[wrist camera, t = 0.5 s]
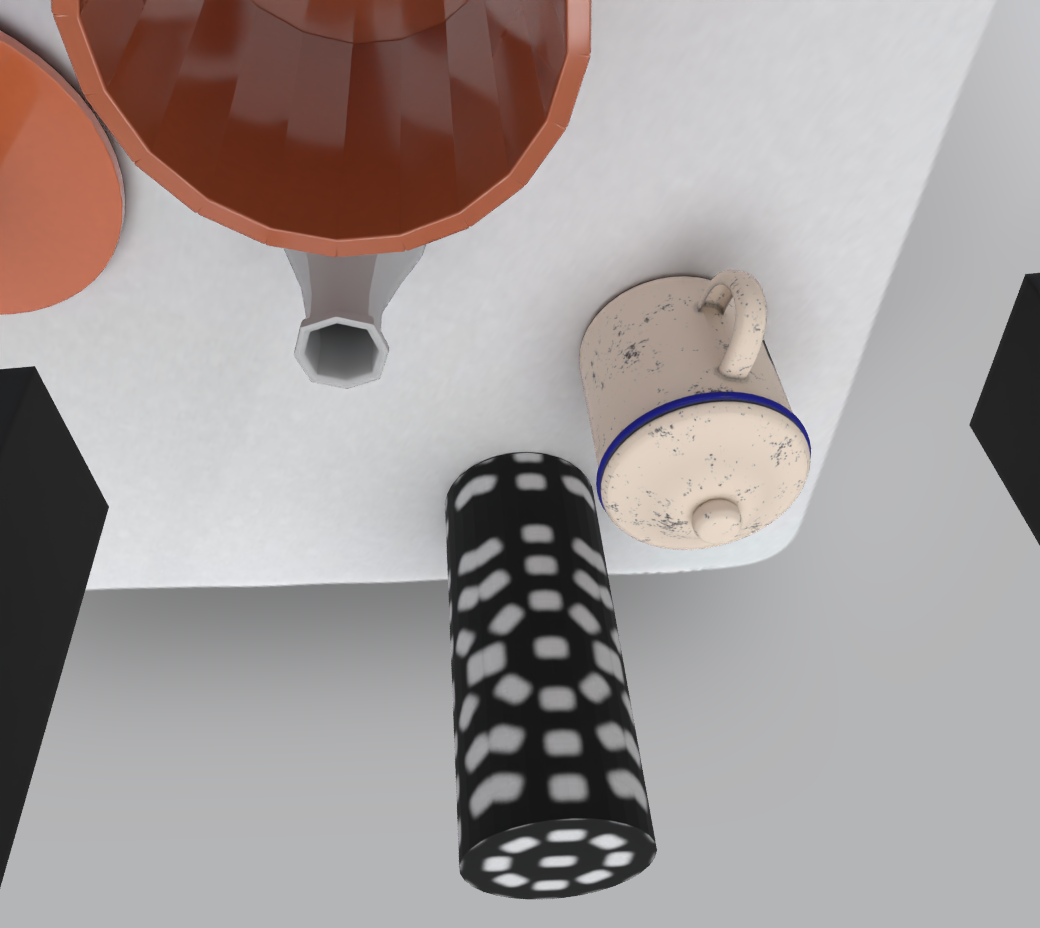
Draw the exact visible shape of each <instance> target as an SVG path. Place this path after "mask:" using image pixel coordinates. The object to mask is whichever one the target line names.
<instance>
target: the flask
mask: <svg viewBox="0 0 1040 928" xmlns="http://www.w3.org/2000/svg"><path fill="white" fill-rule="evenodd" d="M425 245H426V244H425ZM425 245H422V246H419V247H417V248H414V249H411V250H409V251H406V250H405V251H404V252H394V253H383V254H371V255H359V256H347V257H337V256H336V257H330V256H325V255H319V254H313V253H308V252H302V251H297V250H291V249H285V248H284V250H285V252H286V254H287V257H288V259H289V261H290V264H291V266H292V268H293V271H294V273H295V275H296V278H297V280H298V282H299V284H300V287H301V290H302V296H303V301H304V307H305V313H306V319H304V320H303V321H302V323H301V326H300V330H299V335H298V339H297V343H296V347H295V352H294V356H295V358H296V359H297V361H298V362H299V364H300V365H301V367H302V369H303V370H304V372H305V373H306V375H307V376H308V378H309V379H310V381H311V382H314V383H320V384H325V385H330V386H335V387H340V388H345V389H348V388H351V387H355V386H358V385H361V384H365V383H368V382H371V381H374V380H378V379H380V377H381V374H382V371H383V368H384V365H385V362H386V359H387V355H388V352H389V346H388V343H387V342H386V340H385V338H384V336H383V334H382V332H381V317H382V312H383V311H384V309H385V308H386V306H387V305H388V303H389V302H390V300H391V298H392V297H393V295H394V294H395V292H396V291H397V289H398V288H399V286H400V285H401V283H402V282H403V281H404V279H405V278H406V277H407V275H408V274H409V273H410V272H411V270H412V269H413V268H414V266H415V265H416V264H417V262H418V261H419V259H420V258H421V256H422V255H423V252H424V249H425Z"/></svg>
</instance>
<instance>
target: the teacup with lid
mask: <svg viewBox="0 0 1040 928" xmlns="http://www.w3.org/2000/svg"><path fill="white" fill-rule="evenodd" d="M766 320H767V306H766V300H765V296H764V293H763V290H762V288H761V286H760V284H759V283H758V281H757V280H756V279H755V278H754V277H753V276H751V275H750V274H748V273H745V272H741V271H734V270H727V271H723V272H720V273H719V274H717V275H716V276H715V277H714V278H713V279H712V280H708V279H704V278H699V277H688V276H679V277H668V278H661V279H657V280H653V281H650V282H646V283H643V284H641V285H638V286H636V287H634V288H632V289H630V290H628V291H626V292H624V293H623V294H621V295H619V296H618V297H616V298H615V299H614V300H612V301H611V302H610V303H609V304H607V305H606V306H605V307H604V308H603V309H602V310H601V311H600V312H599V313H598V314H597V316H596V317H595V318H594V319H593V321H592V322H591V324H590V325H589V327H588V329H587V331H586V333H585V336H584V338H583V341H582V344H581V348H580V361H579V363H580V371H581V376H582V382H583V387H584V392H585V398H586V403H587V408H588V414H589V419H590V425H591V430H592V435H593V441H594V446H595V451H596V457H597V462H598V467H599V468H598V472H597V481H596V485H597V493H598V497H599V500H600V502H601V505H602V507H603V508H604V510H605V512H606V513H607V514H608V515H609V517H610V518H611V520H612V521H613V522H614V523H615V524H616V525H617V526H618V527H619V528H620V529H621V530H623V531H624V532H625V533H627V534H628V535H630V536H631V537H633V538H635V539H637V540H639V541H641V542H644V543H647V544H650V545H653V546H657V547H662V548H668V549H681V550H688V549H703V548H710V547H715V546H720V545H723V544H727V543H731V542H734V541H737V540H739V539H742V538H744V537H747V536H749V535H751V534H753V533H755V532H757V531H759V530H761V529H762V528H764V527H766V526H767V525H769V524H770V523H772V522H773V521H774V520H776V519H777V518H778V517H779V516H781V515H782V514H783V513H784V512H785V511H786V510H787V509H788V508H789V507H790V506H791V505H792V503H793V502H794V501H795V500H796V498H797V497H798V495H799V494H800V492H801V490H802V489H803V487H804V484H805V482H806V479H807V476H808V473H809V469H810V458H811V446H810V440H809V437H808V434H807V432H806V430H805V428H804V426H803V424H802V423H801V422H800V420H799V419H798V418H797V417H796V416H795V415H794V414H793V413H792V410H791V407H790V405H789V402H788V400H787V397H786V395H785V392H784V390H783V387H782V385H781V382H780V380H779V377H778V374H777V372H776V369H775V367H774V364H773V362H772V359H771V357H770V354H769V352H768V349H767V347H766V344H765V341H764V334H765V329H766Z"/></svg>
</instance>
